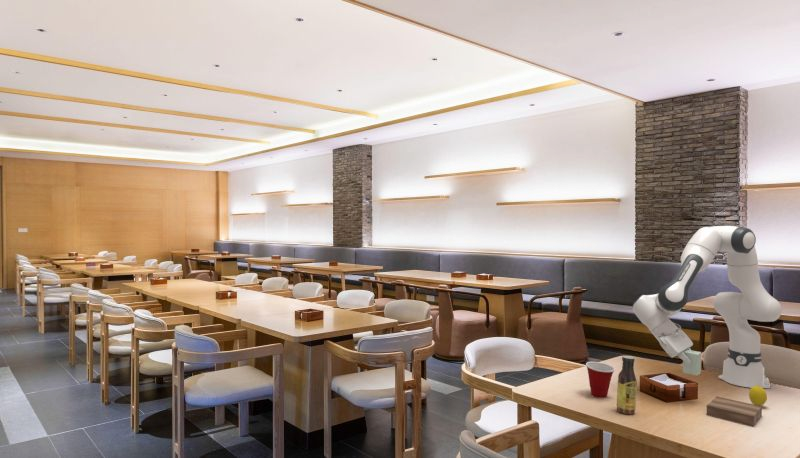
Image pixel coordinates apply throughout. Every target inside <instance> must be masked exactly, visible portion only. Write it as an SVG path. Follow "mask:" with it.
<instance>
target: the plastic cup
mask: <svg viewBox="0 0 800 458" xmlns="http://www.w3.org/2000/svg"><path fill="white" fill-rule="evenodd" d="M585 365H586V367H587V368H586V370H587V374H588V382H589V387H590V388H589V389H590V394H591V396H593V397H595V398H599V399H602V398H603V399H604V398H605V399H606V398H607V397H608V393H609V389H610V385H611V381H612V377H613V373H614V372H615V371H616V367H614V366H613V365H610V364H607V363H604V362H599V361H588V362H586V363H585Z"/></svg>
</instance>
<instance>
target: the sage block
mask: <svg viewBox="0 0 800 458" xmlns="http://www.w3.org/2000/svg"><path fill="white" fill-rule="evenodd" d="M683 352H684V354H685V355H686V356H687V357H688V358H690V359H691V360H692V362H691V363H689V364H687V363H686V362H685V361H684V360H682V373H683V374H687V375H688V374H689V375H692V376H699V375H700V374H701V373H702V351H696V350H692V349H691V350H686V351H683Z"/></svg>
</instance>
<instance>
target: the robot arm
mask: <svg viewBox="0 0 800 458" xmlns="http://www.w3.org/2000/svg"><path fill="white" fill-rule="evenodd" d="M756 241H757V240H756V235H755V233H754V232H753V230H752V229H750V228H748V227H745V226H735V225H708V226H704V227H701V228H699V229H698V230H697V231H696V232H695V233H694V234H693V235H692V237H691V238H690V239H689V240H688V242H687V244H686V245H685V247H684V248H683V251H682V253H681V256H680V263H681V265H680V267H679V269H678V271H677V272H676V274H675V275H674V277H673V279H672V280H670V281H669V282H668V283H666V284H665V285H663V286H662V287H661V288H660V289H659V291H658V293H656V294H646V295H645V294H642V295H640V296H638V298H636V300H635V301H634V302H633V304H632V308H631V309H632V311H633V313H634V314H635V316H636V317H637V319H638V320H639V321H640V322H641V324H643V325H645V326H646V327H647V328H648V330H649V332H650V333H651V334H652V335H653V336H654V337H655V339H656V340H657V341H658V342H659V345H660V346H661V348H662V349H663V350H664V351H665V353H666V354H667V355H668V356H669V357H670V358H671V359H673V358H675V357H676V356H677V357H678V358H680V359H681V360H682V361H683V360H684V361H685V362H686V363H687V364H689V363H691V362H692V360H691V359H690V358H688V357H687V356H686V355H685V354H684V351H686V350H692V349H691V347H693V345H694V343H693V341H692V340H691V339H690V337H689V336H688V335H687V334H686V332H684V330H682V326H681V325H680V324H678V323H675V322H674V321H672V320H671V319H670V318H669V317H672V316H673V317H674V316H675V315H677V314H678V313H680V312H681V310H682V309H683V308H684V307H685V306H686V305H687V303H688V299H689V289H690V287H691V285H692V284H693V282H694V280H695V279H696V276H697V275H698V274H699V273H701V272H704V271H705V270H706V269H707V268H708V267H709V266H710V264H711V263H712V261H713V260H714V259H715V257H716V255H717V253H718V252H723V253H726V266H727V267H726V268H727V269H726V270H727V279H728V281H729V282H730V284H731V285H732V286H734V287H736V288H737V289H739V290H740V292H736V291H723V292H718V293H717V294H716V295H714V297H713V301H712V305H713V309H714V310H715V312H717V314H719V315H720V316H721V317H722V320H724V322H725V324H726V326H727V329H728V334H729V335H728V336H729V347H728V349H727V358H726V359H725V360H723V364H722V365H723V366H722V368H723V369H722V374H720V375H718V379H719V380H722V381H724V382H726V383H728V384H731V385H734V386H738V387H742V388H744V387H745V388H750V389H751V388H752V387H754V386H757V385H759V386H760V387H762V388H763V389H771V385H770V380H769V378H768V377H767V375H765V367H764V365H763V364H762V358H763V357H762V352H761V335H760V333H759V331H757V330H756V329H755V328H753V327H752V326H751V325H750V324H749V322H748V320H750V321H755V322H756V321H757V322H764V323H765V322H766V323H767V322H769V323H770V322H775V321H777V320H778V319H779V318H780V316H781V315H782V305H781V303H780V302H779V300H777V299H776V298H774V297H773V296H772V295H771V294H770V293H769V292H768V291H767V290H766V289H765V287H764V285H763V283H762V281H761V277H760V270H759V260H758V254H757V250H756V246H755V245H756Z"/></svg>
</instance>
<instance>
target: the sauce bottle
mask: <svg viewBox="0 0 800 458" xmlns="http://www.w3.org/2000/svg"><path fill="white" fill-rule="evenodd" d="M621 360H622V365H621V366H622V367H621V370H620V371H619V373H618V376H617V379H618V380H617V391H616V392H617V393H616V410H617V412H619V413H621V414H623V415H633V414H635V412H636V405H637V403H636V402H637V385H638V383H637V378H636V377H637V376H636V374H635V370H634V369H635V368H634V366H635V358H634V357H633V356H630V355H623V356H622V359H621Z"/></svg>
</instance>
